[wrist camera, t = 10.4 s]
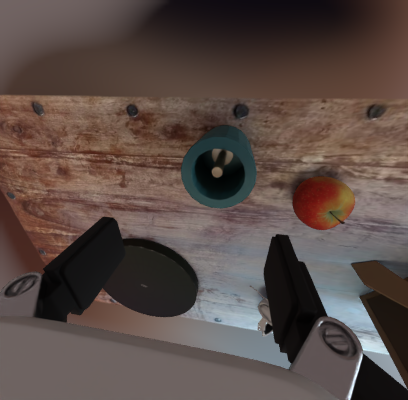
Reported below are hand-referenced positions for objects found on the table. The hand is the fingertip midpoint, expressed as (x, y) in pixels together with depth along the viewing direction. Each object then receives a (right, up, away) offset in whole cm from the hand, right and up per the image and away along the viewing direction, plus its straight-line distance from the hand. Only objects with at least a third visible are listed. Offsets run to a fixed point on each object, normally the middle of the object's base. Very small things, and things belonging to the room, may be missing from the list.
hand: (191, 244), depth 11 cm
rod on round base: (+4, +11, +21) cm, 24 cm away
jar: (+4, +11, +21) cm, 24 cm away
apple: (+20, +5, +22) cm, 30 cm away
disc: (-16, -20, +42) cm, 49 cm away
